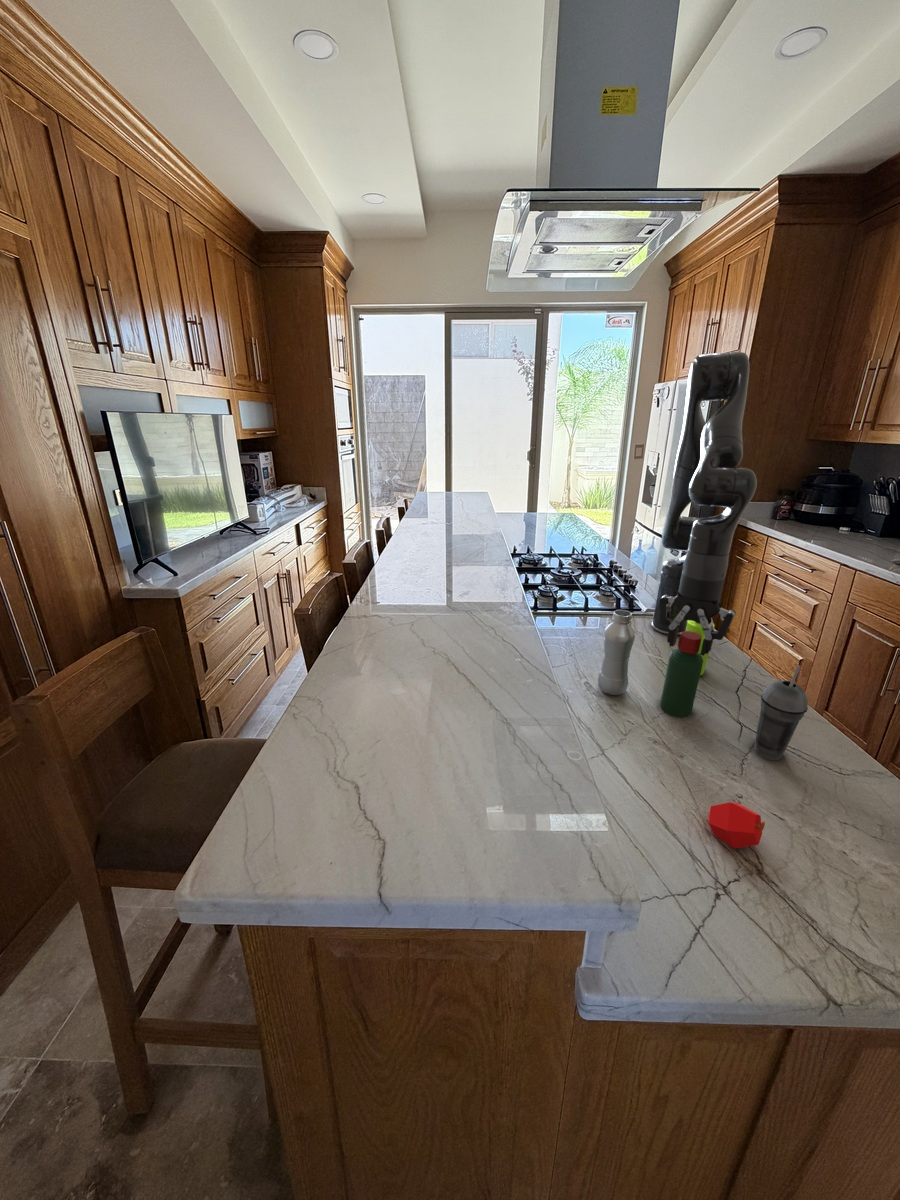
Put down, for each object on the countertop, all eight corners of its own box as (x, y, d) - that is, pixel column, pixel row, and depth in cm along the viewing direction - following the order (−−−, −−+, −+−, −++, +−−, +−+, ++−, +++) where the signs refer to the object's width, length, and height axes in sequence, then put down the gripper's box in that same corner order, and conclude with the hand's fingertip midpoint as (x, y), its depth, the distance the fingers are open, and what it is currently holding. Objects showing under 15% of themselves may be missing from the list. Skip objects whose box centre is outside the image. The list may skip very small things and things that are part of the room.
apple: (697, 804, 75) (757, 816, 69) (711, 788, 79) (768, 797, 74) (703, 848, 75) (763, 863, 69) (717, 829, 79) (774, 842, 74)
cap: (674, 649, 101) (677, 635, 99) (682, 643, 103) (685, 629, 102) (694, 655, 98) (697, 641, 97) (701, 649, 101) (704, 635, 99)
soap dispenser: (681, 676, 118) (697, 601, 110) (676, 662, 124) (690, 590, 117) (707, 679, 117) (725, 604, 109) (700, 665, 123) (717, 592, 115)
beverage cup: (782, 743, 96) (812, 654, 88) (796, 768, 89) (829, 675, 81) (741, 737, 97) (766, 649, 90) (752, 761, 91) (780, 669, 83)
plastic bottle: (628, 700, 109) (641, 620, 101) (597, 696, 111) (608, 618, 103) (624, 684, 115) (637, 608, 107) (595, 681, 116) (605, 605, 109)
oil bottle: (665, 696, 111) (679, 628, 104) (695, 707, 107) (711, 636, 100) (655, 709, 106) (669, 638, 99) (686, 720, 102) (703, 648, 95)
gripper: (749, 575, 92) (730, 653, 99) (671, 560, 101) (658, 633, 107) (740, 586, 87) (720, 668, 93) (659, 569, 95) (646, 645, 102)
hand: (687, 649), depth 100 cm, fingers open, 5 cm apart
